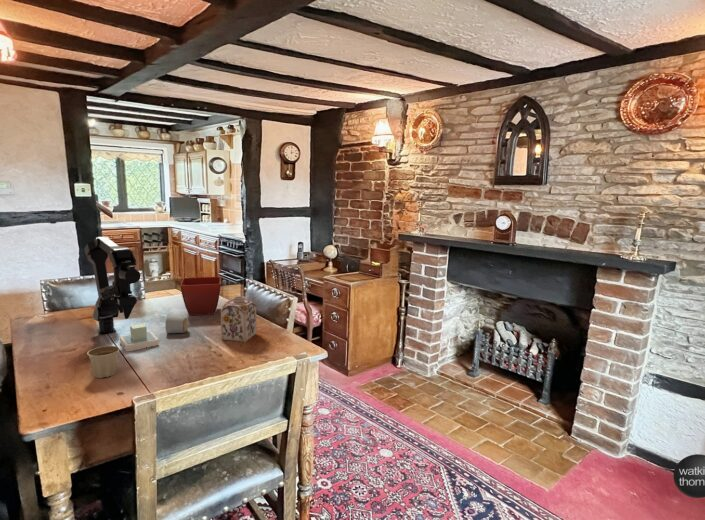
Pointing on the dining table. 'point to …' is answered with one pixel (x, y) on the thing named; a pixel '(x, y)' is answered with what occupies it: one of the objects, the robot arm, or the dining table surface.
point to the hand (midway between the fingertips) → (124, 315)
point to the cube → (138, 331)
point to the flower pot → (103, 360)
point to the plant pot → (201, 294)
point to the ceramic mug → (176, 324)
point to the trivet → (138, 342)
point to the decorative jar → (238, 320)
